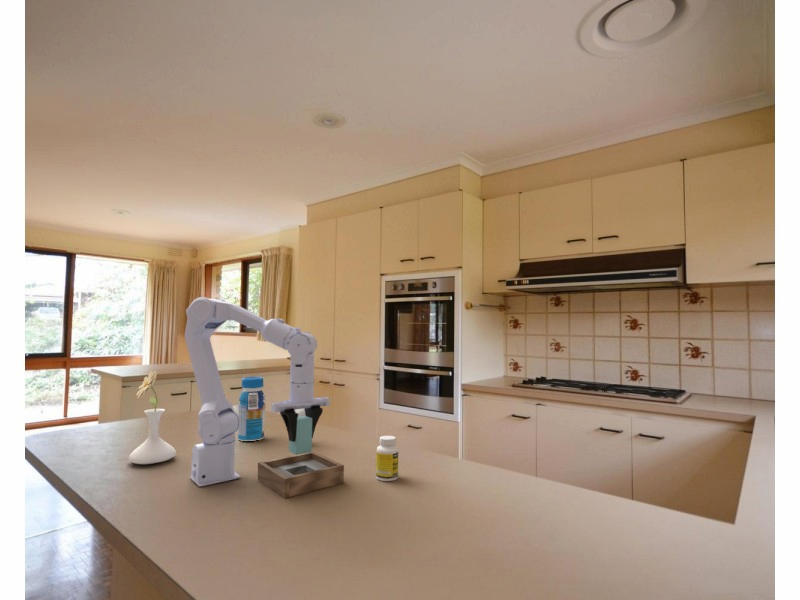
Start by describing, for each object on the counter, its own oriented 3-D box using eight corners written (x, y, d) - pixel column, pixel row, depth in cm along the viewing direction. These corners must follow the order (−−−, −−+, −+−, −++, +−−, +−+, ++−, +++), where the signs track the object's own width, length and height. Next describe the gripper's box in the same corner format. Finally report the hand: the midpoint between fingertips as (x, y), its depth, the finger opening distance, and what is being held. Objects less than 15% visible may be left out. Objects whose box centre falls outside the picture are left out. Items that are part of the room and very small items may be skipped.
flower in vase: (133, 457, 123) (136, 368, 124) (178, 453, 127) (181, 367, 128) (122, 472, 111) (126, 372, 112) (172, 467, 115) (175, 371, 116)
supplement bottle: (395, 482, 104) (395, 440, 105) (373, 481, 105) (373, 439, 106) (400, 475, 109) (400, 435, 110) (379, 473, 110) (379, 434, 111)
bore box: (284, 498, 94) (284, 479, 95) (257, 479, 106) (257, 462, 106) (343, 482, 104) (343, 465, 104) (313, 466, 115) (313, 451, 116)
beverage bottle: (231, 441, 140) (233, 378, 142) (248, 435, 149) (249, 376, 150) (254, 443, 138) (256, 379, 139) (269, 437, 146) (271, 376, 147)
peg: (296, 455, 103) (297, 420, 103) (288, 451, 106) (289, 417, 106) (311, 451, 105) (312, 418, 106) (303, 448, 108) (304, 415, 109)
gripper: (280, 386, 99) (279, 447, 98) (336, 381, 108) (335, 437, 107) (268, 383, 104) (266, 441, 103) (322, 378, 113) (321, 432, 112)
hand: (301, 439), depth 105 cm, fingers closed on peg, 4 cm apart
